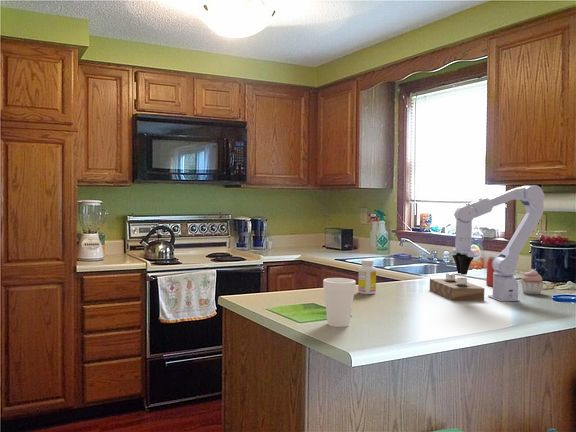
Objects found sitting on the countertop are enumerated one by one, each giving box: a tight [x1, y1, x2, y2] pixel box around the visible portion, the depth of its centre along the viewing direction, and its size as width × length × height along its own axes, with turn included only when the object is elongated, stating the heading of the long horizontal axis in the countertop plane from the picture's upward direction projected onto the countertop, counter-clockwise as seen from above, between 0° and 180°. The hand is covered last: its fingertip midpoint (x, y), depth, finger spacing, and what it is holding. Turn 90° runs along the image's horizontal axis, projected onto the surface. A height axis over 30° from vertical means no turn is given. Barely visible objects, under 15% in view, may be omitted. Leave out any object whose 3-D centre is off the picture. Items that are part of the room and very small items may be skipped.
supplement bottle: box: [357, 259, 377, 295], centre depth 216 cm, size 7×7×13 cm
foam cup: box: [322, 277, 357, 328], centre depth 164 cm, size 10×9×13 cm
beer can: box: [485, 256, 496, 288], centre depth 240 cm, size 7×7×12 cm
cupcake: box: [519, 268, 545, 296], centre depth 223 cm, size 9×9×10 cm
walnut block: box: [429, 278, 485, 302], centre depth 216 cm, size 22×12×4 cm, turn 8°
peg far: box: [445, 272, 456, 282], centre depth 221 cm, size 4×4×4 cm
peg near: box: [456, 276, 468, 287], centre depth 211 cm, size 4×4×4 cm
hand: (462, 274), depth 211 cm, fingers open, 2 cm apart
